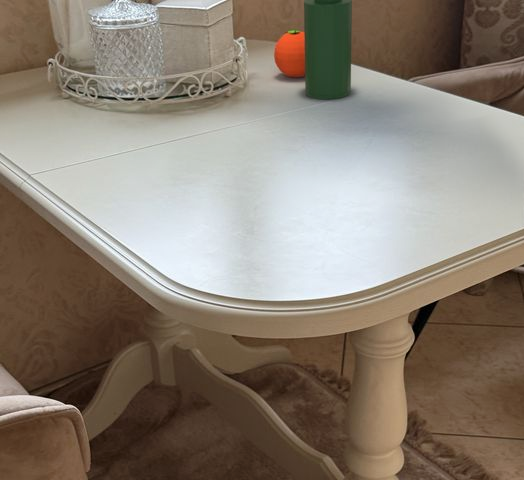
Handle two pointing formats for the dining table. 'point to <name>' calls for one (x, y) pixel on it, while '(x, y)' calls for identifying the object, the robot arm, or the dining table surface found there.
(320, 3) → the bottle
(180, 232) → the dining table surface
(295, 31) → the clementine
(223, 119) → the dining table surface
